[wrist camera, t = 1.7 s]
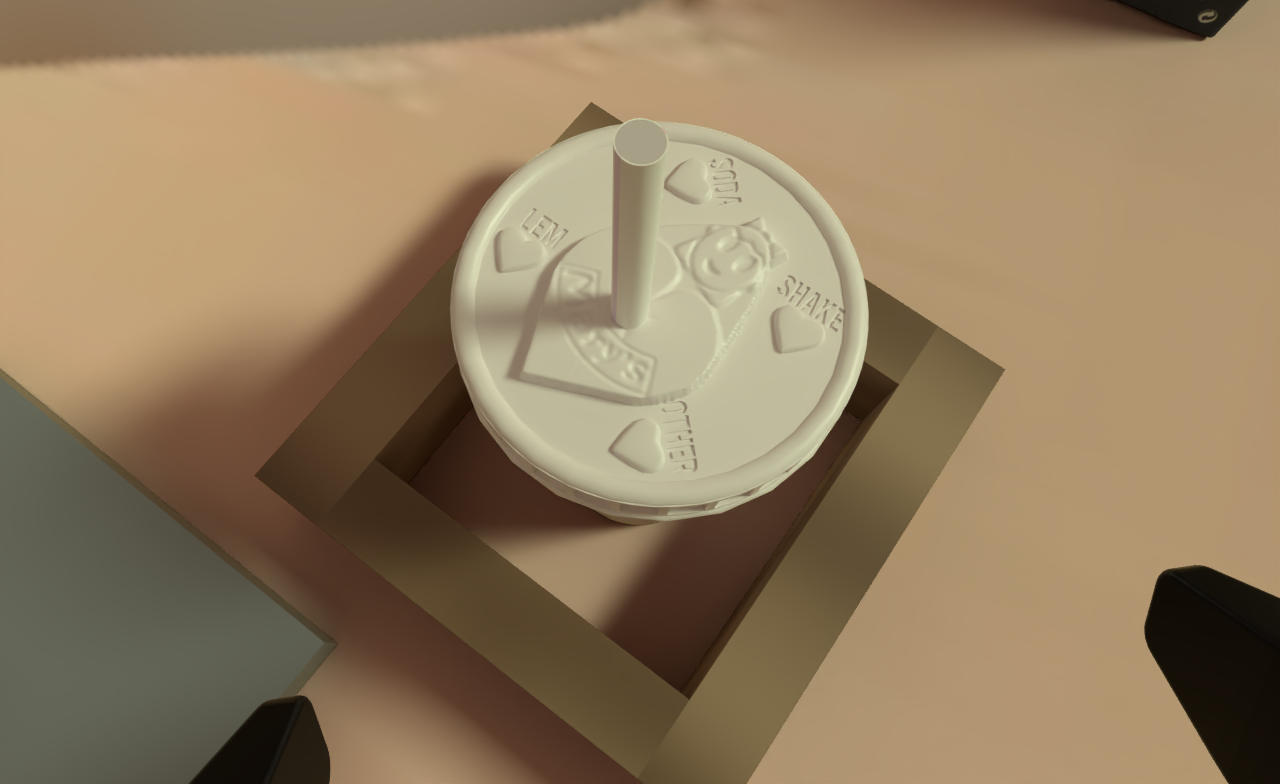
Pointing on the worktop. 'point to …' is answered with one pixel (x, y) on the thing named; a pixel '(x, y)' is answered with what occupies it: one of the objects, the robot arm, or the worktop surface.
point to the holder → (557, 636)
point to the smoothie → (658, 320)
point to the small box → (1192, 13)
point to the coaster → (122, 620)
